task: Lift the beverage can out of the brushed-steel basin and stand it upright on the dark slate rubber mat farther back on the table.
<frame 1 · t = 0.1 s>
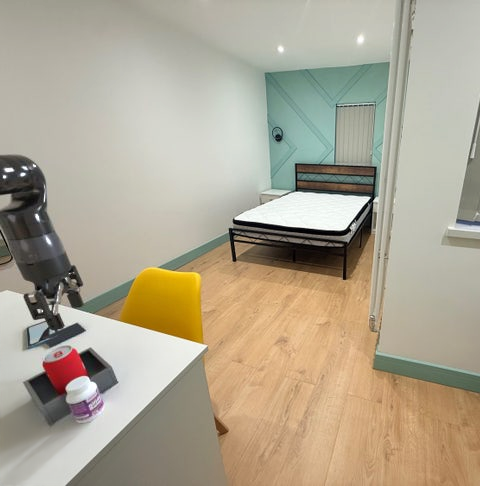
hand: (68, 317, 61), 22 cm above the table, tool pointing down, fingers open, 8 cm apart
basin: (76, 390, 68), on the table
mat: (65, 335, 88), on the table
smartphone: (43, 333, 89), on the table
pill bottle: (91, 413, 62), on the table
beverage can: (75, 389, 68), resting on basin
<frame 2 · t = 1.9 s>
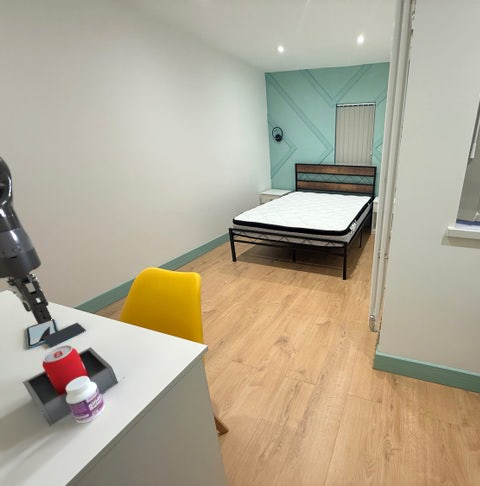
hand: (39, 315, 59), 24 cm above the table, tool pointing down, fingers open, 8 cm apart
nothing on the table moved.
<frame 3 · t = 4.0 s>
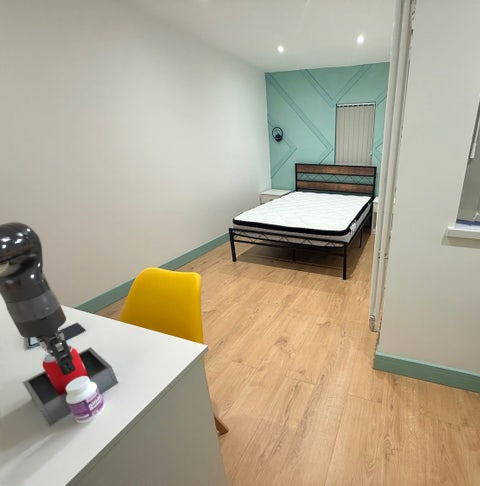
hand: (64, 366, 65), 8 cm above the table, tool pointing down, fingers closed on beverage can, 6 cm apart
beverage can: (75, 389, 68), resting on basin, touching gripper
everything else where it was.
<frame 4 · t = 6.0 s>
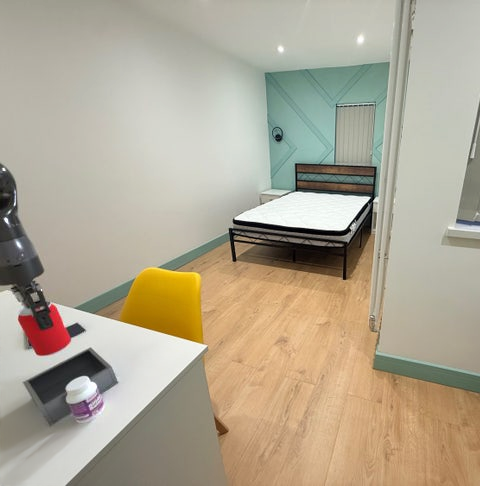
hand: (42, 322, 61), 21 cm above the table, tool pointing down, fingers closed on beverage can, 6 cm apart
beverage can: (55, 349, 64), point 13 cm above the table, touching gripper
everything else where it was.
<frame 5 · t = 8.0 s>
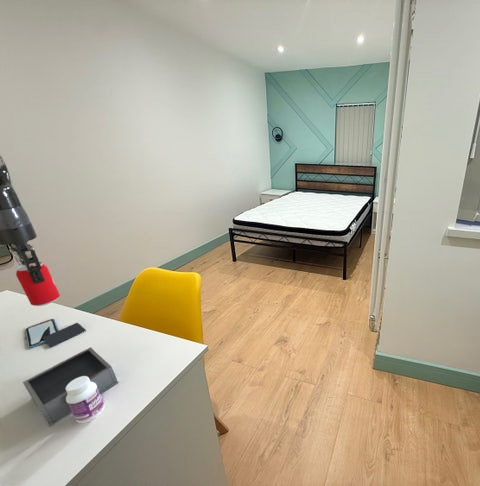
hand: (35, 279, 76), 23 cm above the table, tool pointing down, fingers closed on beverage can, 6 cm apart
beverage can: (46, 302, 79), point 16 cm above the table, touching gripper
everything else where it was.
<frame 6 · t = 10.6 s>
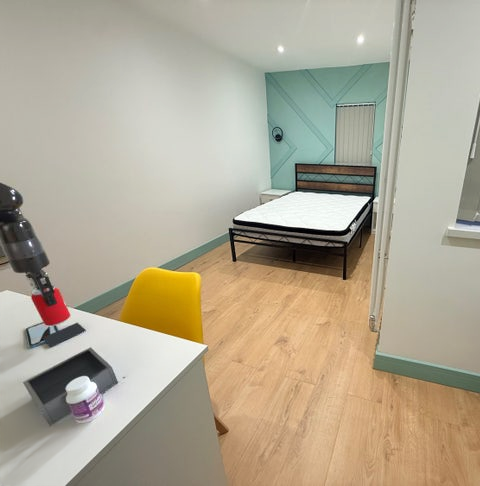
hand: (48, 301, 83), 13 cm above the table, tool pointing down, fingers closed on beverage can, 6 cm apart
beverage can: (58, 321, 86), point 6 cm above the table, touching gripper
everything else where it was.
when the fingers open (8 cm above the table, at t = 12.4 s): beverage can stays where it is, resting on mat.
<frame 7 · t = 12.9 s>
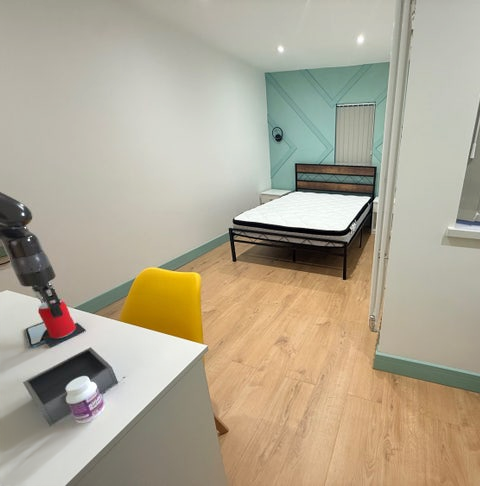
hand: (53, 312, 84), 9 cm above the table, tool pointing down, fingers open, 8 cm apart
beverage can: (64, 333, 87), point 1 cm above the table, touching mat
everything else where it was.
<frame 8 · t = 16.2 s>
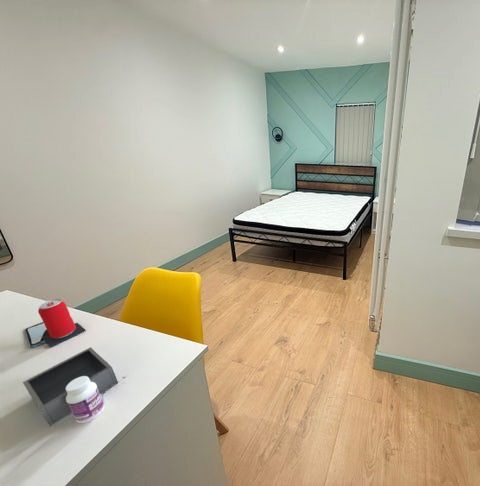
nothing on the table moved.
at the end: beverage can inside the target area on the mat (0.1 cm from its centre), point 0.6 cm above the mat's base; beverage can tilted 0° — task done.
